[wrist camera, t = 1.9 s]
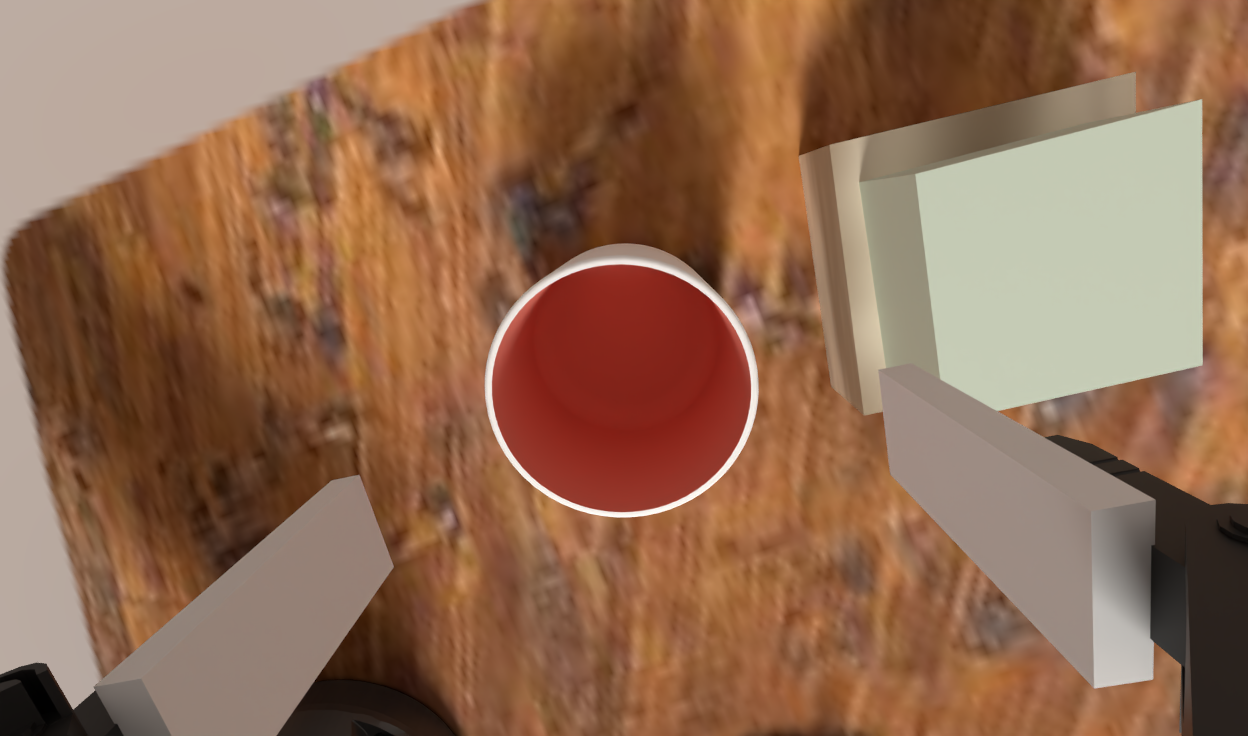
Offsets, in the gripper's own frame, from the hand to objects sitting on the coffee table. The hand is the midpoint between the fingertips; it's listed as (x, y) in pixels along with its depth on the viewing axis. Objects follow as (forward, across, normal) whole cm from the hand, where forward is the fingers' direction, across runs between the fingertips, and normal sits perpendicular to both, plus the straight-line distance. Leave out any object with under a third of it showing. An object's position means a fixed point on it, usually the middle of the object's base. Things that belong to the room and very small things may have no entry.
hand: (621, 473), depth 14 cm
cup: (+17, 0, 0) cm, 17 cm away
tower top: (+12, +16, +1) cm, 20 cm away
